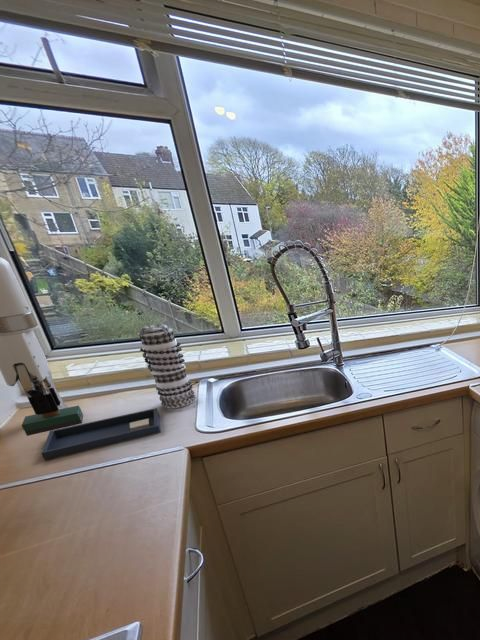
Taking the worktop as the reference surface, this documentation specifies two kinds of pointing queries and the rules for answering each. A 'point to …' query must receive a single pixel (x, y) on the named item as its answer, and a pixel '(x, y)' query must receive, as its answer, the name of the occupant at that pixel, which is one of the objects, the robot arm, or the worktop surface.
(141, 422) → the cream square tile
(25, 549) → the worktop surface
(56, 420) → the brush
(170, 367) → the black white patterned cylinder
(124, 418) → the tray
